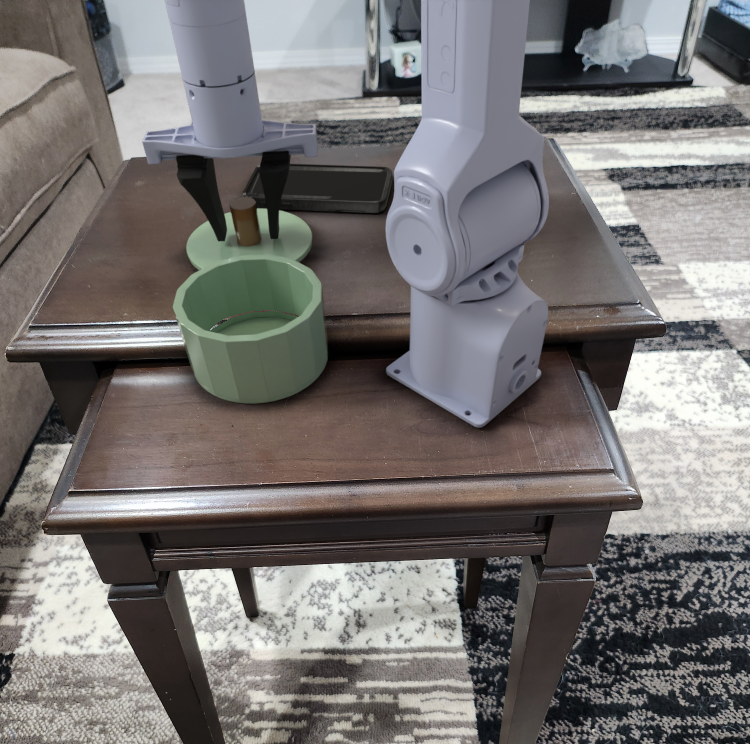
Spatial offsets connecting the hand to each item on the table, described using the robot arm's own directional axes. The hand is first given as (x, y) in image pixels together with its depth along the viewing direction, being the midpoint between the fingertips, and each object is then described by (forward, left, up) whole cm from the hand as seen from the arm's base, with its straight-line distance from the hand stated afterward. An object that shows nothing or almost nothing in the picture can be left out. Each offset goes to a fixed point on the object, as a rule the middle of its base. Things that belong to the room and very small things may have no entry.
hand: (248, 234), depth 63 cm
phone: (+3, -12, -2) cm, 12 cm away
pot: (-13, +10, -2) cm, 17 cm away
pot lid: (0, 0, -1) cm, 1 cm away
